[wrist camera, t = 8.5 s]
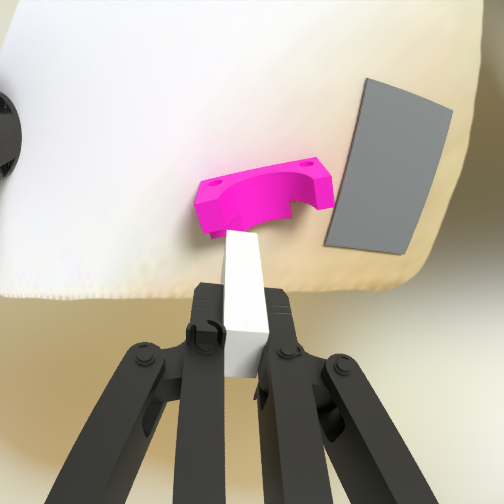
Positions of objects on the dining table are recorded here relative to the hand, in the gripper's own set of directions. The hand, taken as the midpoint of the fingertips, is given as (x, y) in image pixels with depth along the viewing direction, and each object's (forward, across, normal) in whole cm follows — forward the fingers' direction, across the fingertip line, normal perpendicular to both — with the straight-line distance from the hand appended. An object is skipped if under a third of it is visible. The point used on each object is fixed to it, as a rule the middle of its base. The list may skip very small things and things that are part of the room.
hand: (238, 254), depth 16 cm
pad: (+25, +22, -1) cm, 33 cm away
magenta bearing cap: (+25, +4, -6) cm, 26 cm away
